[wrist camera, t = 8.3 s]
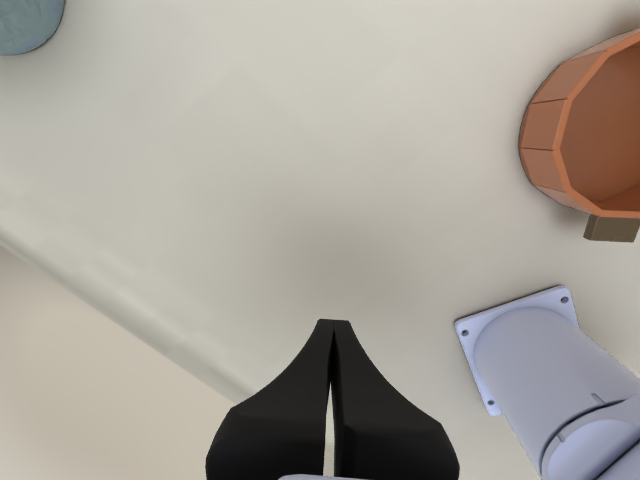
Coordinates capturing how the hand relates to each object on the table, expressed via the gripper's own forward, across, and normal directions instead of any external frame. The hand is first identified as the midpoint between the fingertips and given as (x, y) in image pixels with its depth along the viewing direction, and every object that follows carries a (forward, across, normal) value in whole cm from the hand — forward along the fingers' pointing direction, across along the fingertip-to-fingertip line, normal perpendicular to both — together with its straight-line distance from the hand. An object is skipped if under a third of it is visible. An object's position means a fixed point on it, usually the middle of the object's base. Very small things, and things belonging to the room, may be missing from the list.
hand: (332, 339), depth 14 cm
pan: (+9, -15, -9) cm, 20 cm away
